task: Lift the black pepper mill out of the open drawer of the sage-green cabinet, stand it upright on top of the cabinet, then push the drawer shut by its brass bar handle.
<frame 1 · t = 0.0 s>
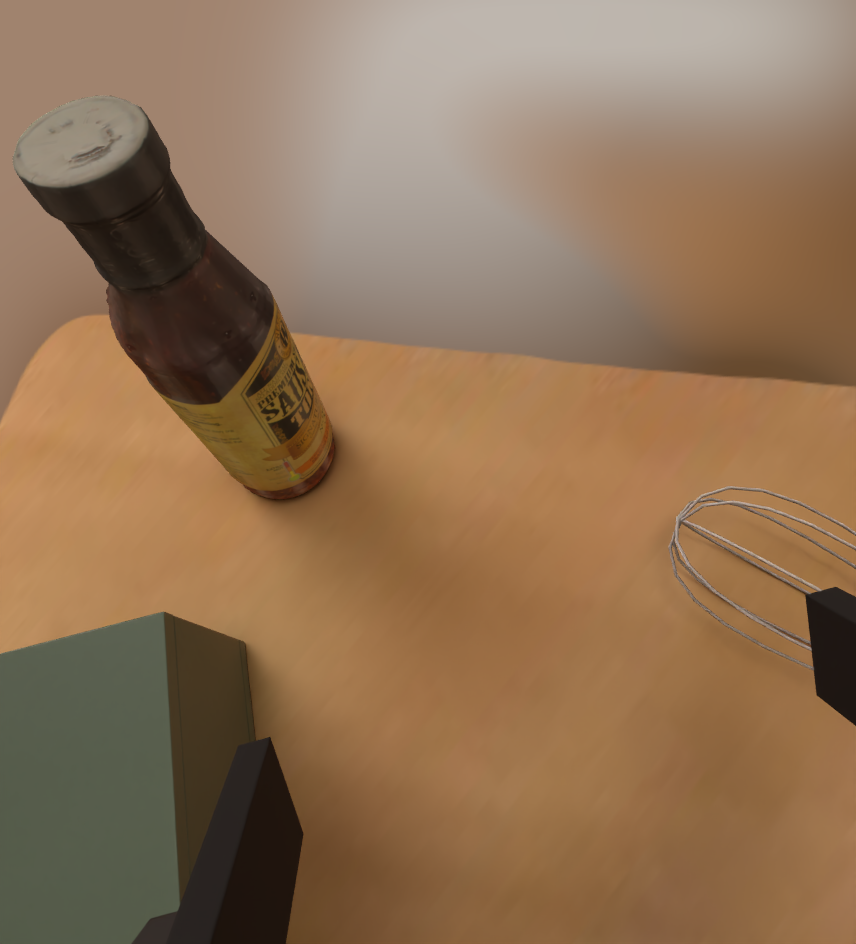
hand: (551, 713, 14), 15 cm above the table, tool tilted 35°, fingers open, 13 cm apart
cabinet: (130, 845, 27), on the table
sauce bottle: (288, 453, 35), on the table
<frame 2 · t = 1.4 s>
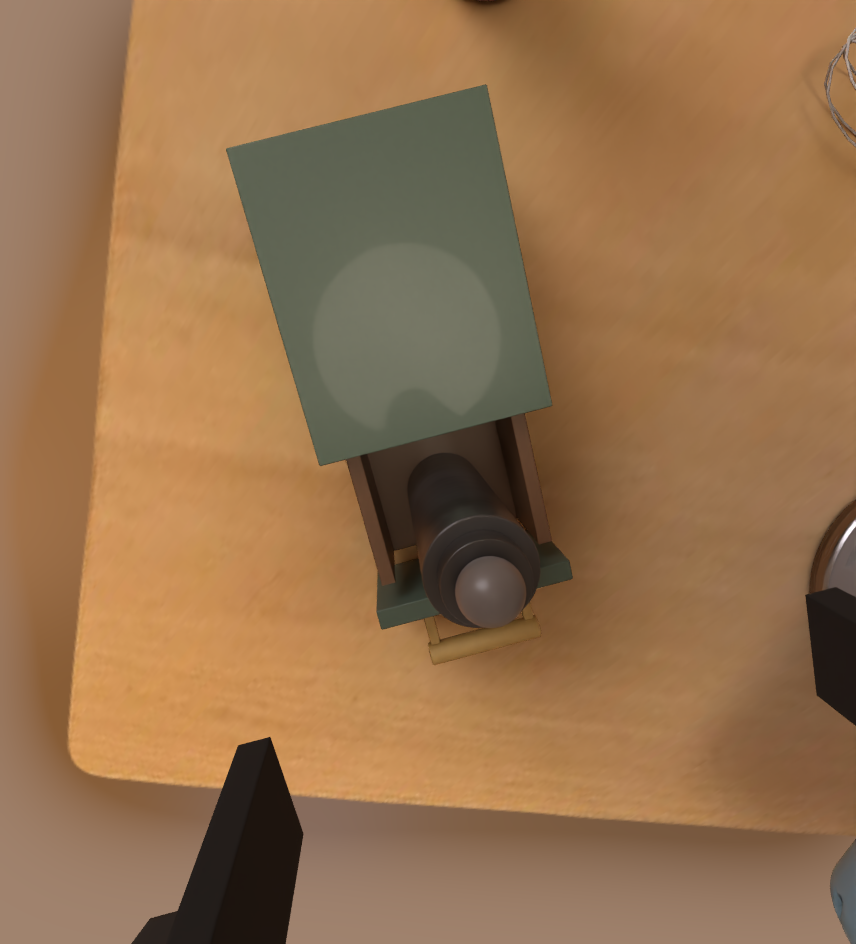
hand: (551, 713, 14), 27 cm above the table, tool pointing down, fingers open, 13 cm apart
cabinet: (395, 300, 38), on the table
drawer: (450, 506, 36), point 4 cm above the table, slide at 9.0 cm, touching pepper mill
pepper mill: (444, 489, 38), point 2 cm above the table, touching drawer
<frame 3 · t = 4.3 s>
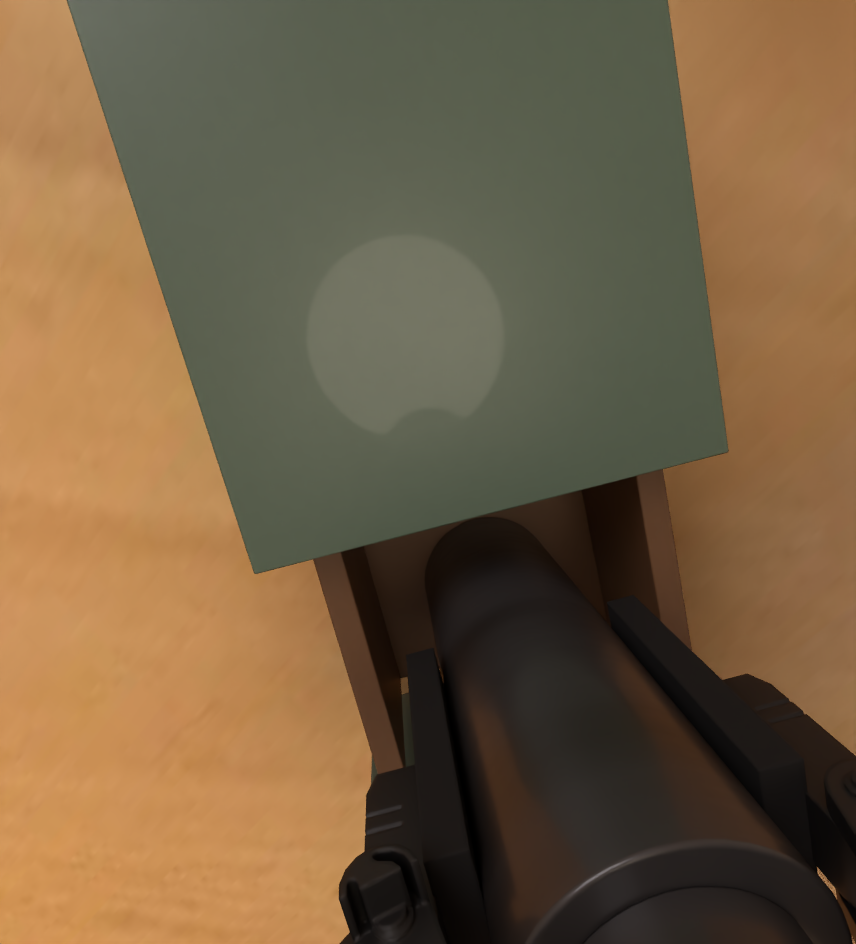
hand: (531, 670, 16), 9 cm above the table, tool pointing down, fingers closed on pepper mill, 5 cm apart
cabinet: (406, 254, 22), on the table
drawer: (502, 617, 20), point 4 cm above the table, slide at 9.0 cm, touching pepper mill
pepper mill: (487, 577, 22), point 2 cm above the table, touching drawer, gripper
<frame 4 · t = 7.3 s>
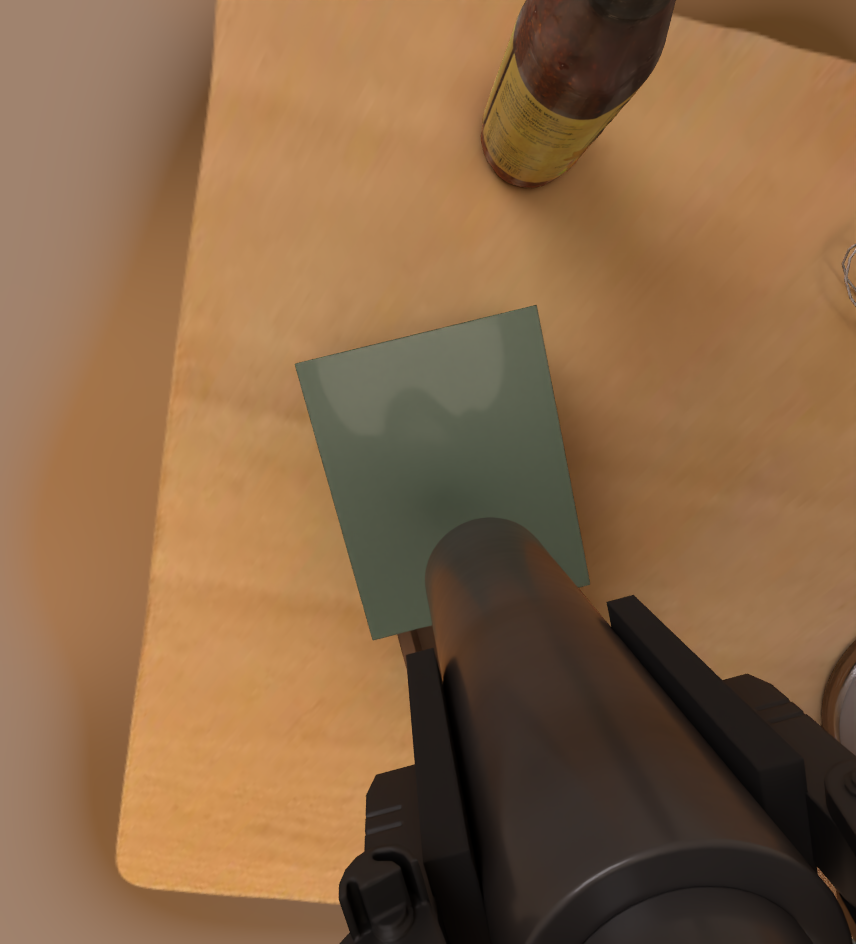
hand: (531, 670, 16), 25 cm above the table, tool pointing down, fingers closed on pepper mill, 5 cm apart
cabinet: (436, 453, 40), on the table
sauce bottle: (526, 135, 36), on the table
drawer: (487, 655, 38), point 4 cm above the table, slide at 9.0 cm
pepper mill: (487, 577, 22), point 18 cm above the table, touching gripper
when the fingers open (15 cm above the table, at t = 10.5 s): pepper mill stays where it is, resting on cabinet.
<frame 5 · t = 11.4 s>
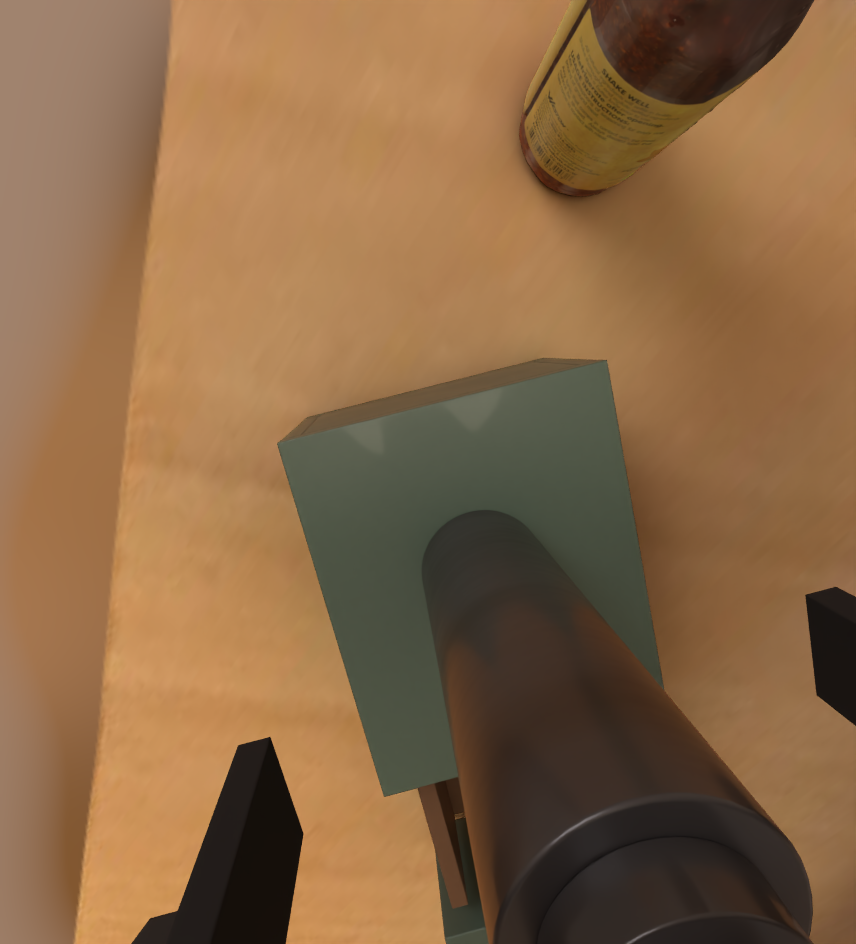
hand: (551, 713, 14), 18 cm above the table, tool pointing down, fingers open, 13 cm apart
cabinet: (460, 528, 32), on the table
sauce bottle: (576, 129, 28), on the table
drawer: (527, 786, 30), point 4 cm above the table, slide at 9.0 cm
pepper mill: (482, 568, 23), point 9 cm above the table, touching cabinet
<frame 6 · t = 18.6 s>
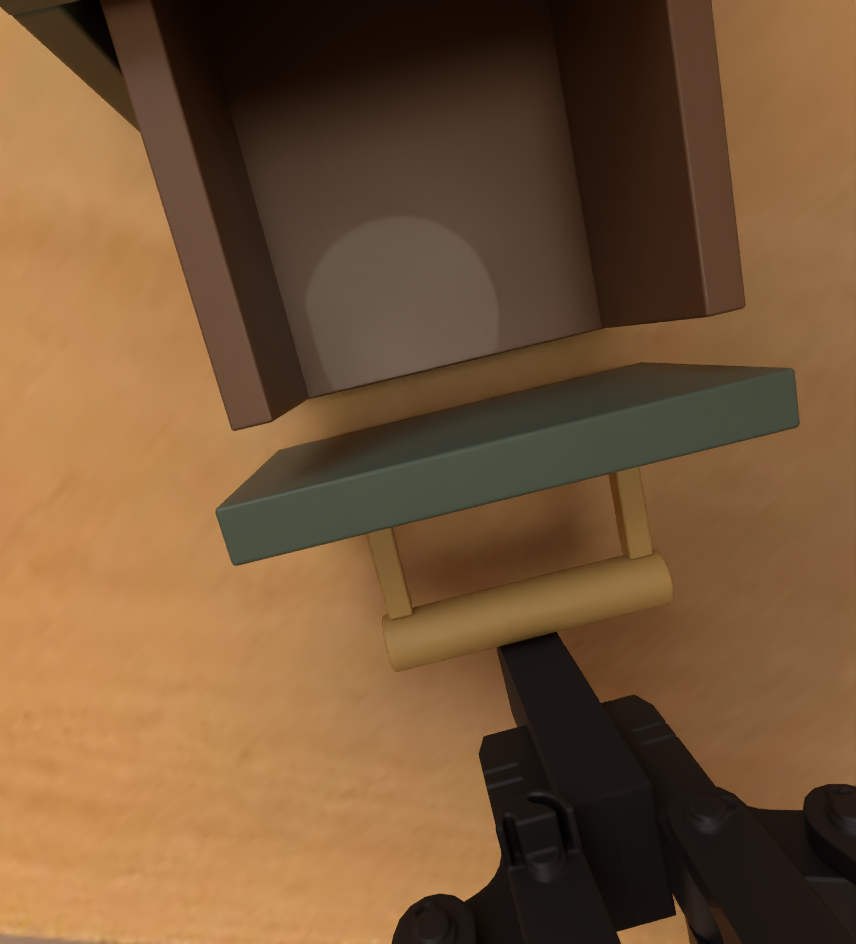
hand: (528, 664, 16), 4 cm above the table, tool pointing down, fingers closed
drawer: (444, 254, 14), point 4 cm above the table, slide at 8.3 cm, touching gripper
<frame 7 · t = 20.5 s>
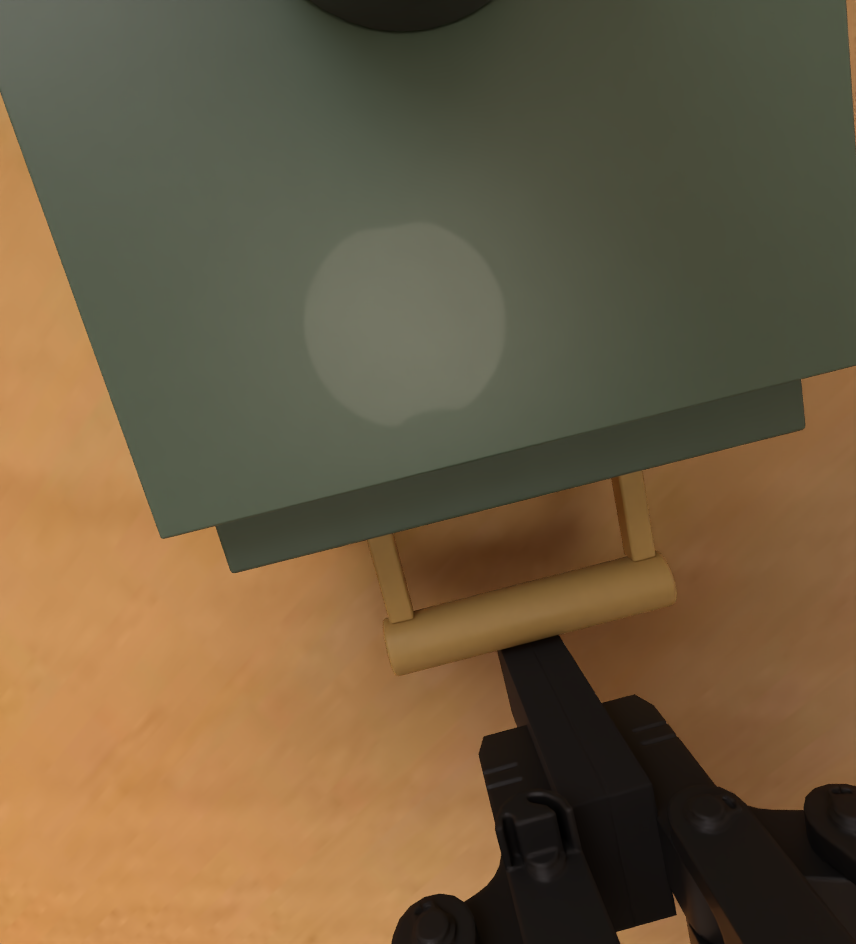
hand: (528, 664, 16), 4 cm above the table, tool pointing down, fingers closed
cabinet: (397, 135, 17), on the table
drawer: (443, 253, 13), point 4 cm above the table, slide at 0.0 cm, touching cabinet, gripper
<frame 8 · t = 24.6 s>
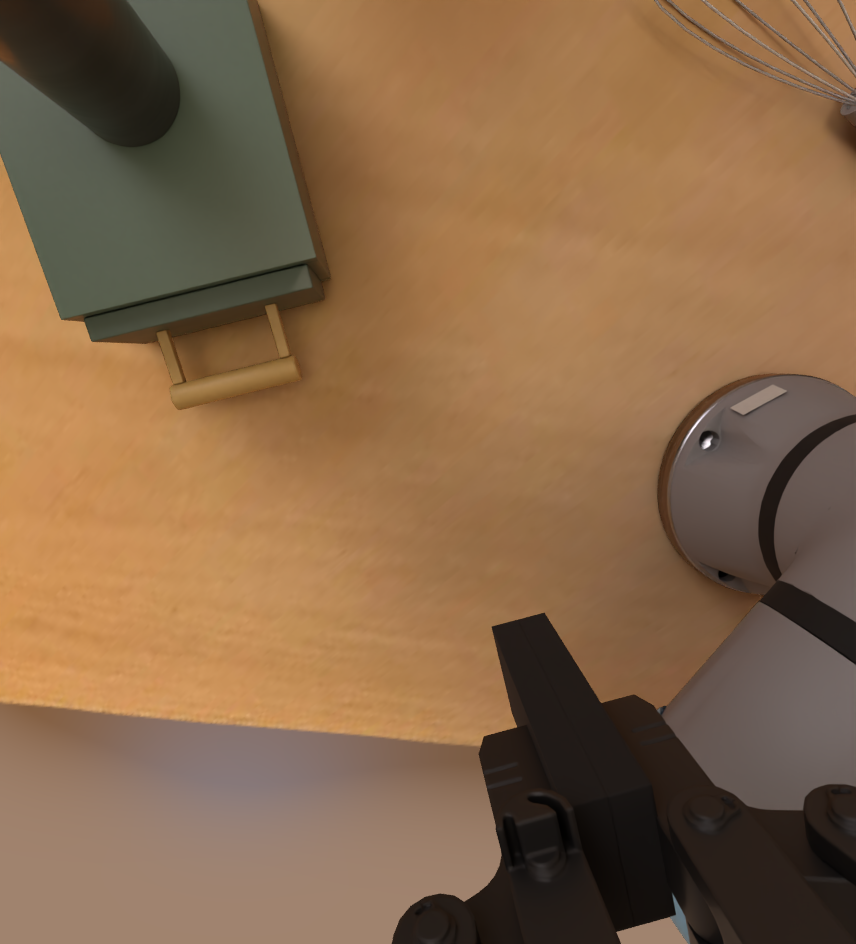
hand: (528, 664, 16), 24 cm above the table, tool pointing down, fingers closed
cabinet: (193, 171, 35), on the table
kitchen whisk: (829, 98, 37), on the table
drawer: (191, 223, 32), point 4 cm above the table, slide at 0.0 cm
pepper mill: (125, 89, 27), point 9 cm above the table, touching cabinet
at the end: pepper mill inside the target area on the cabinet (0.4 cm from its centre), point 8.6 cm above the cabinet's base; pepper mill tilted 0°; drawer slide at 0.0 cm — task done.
